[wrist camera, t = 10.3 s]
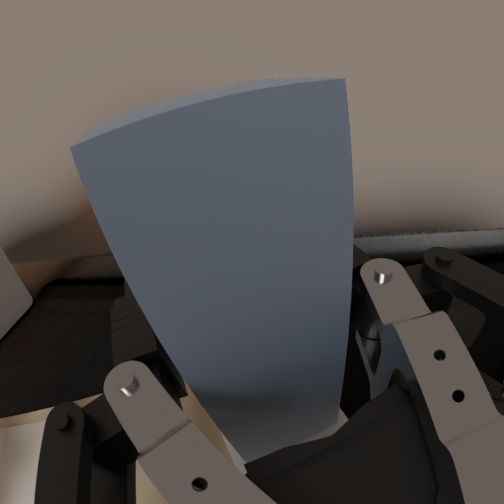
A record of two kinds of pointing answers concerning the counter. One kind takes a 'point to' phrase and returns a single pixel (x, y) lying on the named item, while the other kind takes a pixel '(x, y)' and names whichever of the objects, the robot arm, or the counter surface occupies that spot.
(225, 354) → the panel
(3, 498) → the perforated strip board
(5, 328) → the photo printer
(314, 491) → the robot arm
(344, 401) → the counter surface
